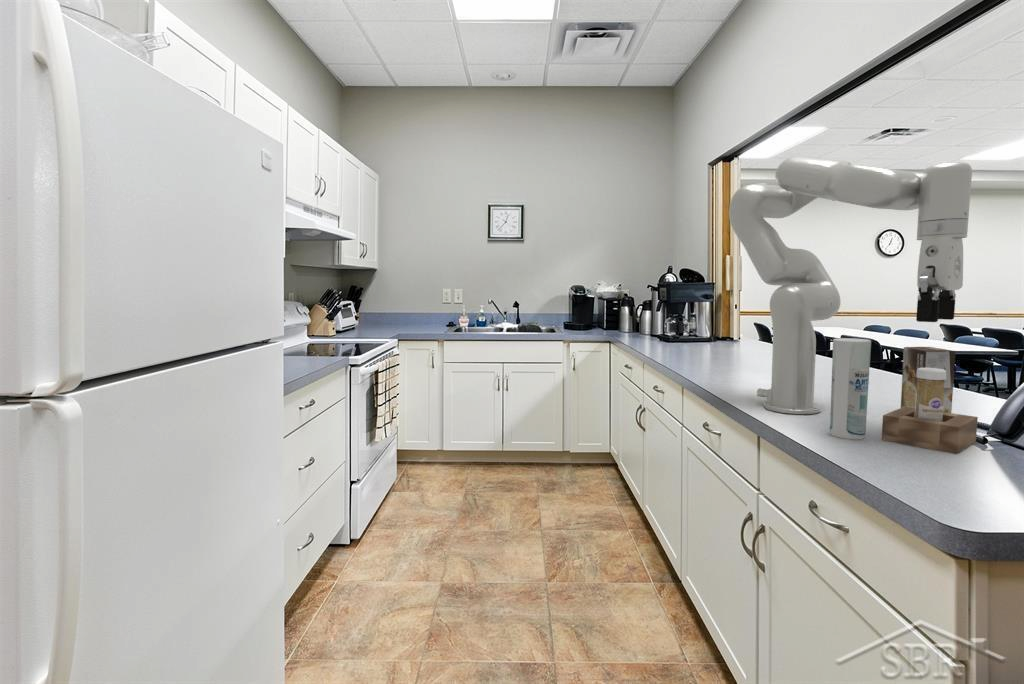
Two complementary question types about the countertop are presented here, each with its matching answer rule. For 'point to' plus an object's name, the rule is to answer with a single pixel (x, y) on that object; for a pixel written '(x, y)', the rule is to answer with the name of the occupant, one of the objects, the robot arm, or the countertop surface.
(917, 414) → the sprinkles bottle
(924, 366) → the coffee box
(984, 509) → the countertop surface
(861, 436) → the spray can
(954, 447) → the bore block
